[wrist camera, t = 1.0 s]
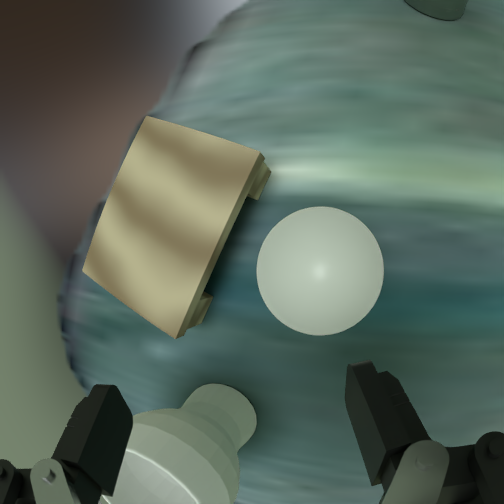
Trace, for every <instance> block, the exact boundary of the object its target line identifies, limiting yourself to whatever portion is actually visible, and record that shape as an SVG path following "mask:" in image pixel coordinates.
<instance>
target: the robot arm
mask: <svg viewBox="0 0 504 504" xmlns="http://www.w3.org/2000/svg"><path fill="white" fill-rule="evenodd" d="M405 1H406V2H407V3H408V4H409V5H411V6H412V7H414V8H415V9H417V10H418V11H420V12H422V13H424V14H427V15H429V16H432V17H435V18H438V19H443V20H456V19H458V18H460V17H461V16H462V15H463V12H464V9H465V7H466V4H467V1H468V0H405ZM345 403H346V408H347V412H348V415H349V418H350V421H351V424H352V427H353V429H354V432H355V435H356V438H357V441H358V445H359V448H360V451H361V454H362V457H363V460H364V463H365V466H366V469H367V472H368V475H369V479H370V482H371V485H372V486H374V485H377V484H381V483H382V486H383V489H384V494H383V496H382V498H381V500H380V502H379V504H504V433H501V432H496V431H495V432H489V433H486V434H484V435H483V436H482V437H480V439H479V440H478V441H477V443H476V444H473V445H467V446H460V447H444V446H443V445H442V444H440V443H438V442H436V441H433V440H432V439H431V438H430V437H429V436H428V434H427V432H426V430H425V428H424V426H423V424H422V423H421V421H420V419H419V417H418V415H417V413H416V411H415V409H414V408H413V406H412V404H411V402H409V398H408V397H407V395H406V393H404V389H403V388H402V386H401V384H400V382H399V380H398V379H397V378H395V377H394V376H393V375H391V374H390V373H389V372H387V371H385V372H381V373H377V371H376V369H375V367H374V365H373V363H372V361H371V360H366V361H362V362H358V363H353V364H348V366H347V376H346V388H345ZM132 428H133V416H132V413H131V411H130V409H129V407H128V406H127V404H126V402H125V400H124V399H123V397H122V395H121V393H120V391H119V389H118V388H117V387H116V386H115V385H102V384H96V385H94V386H93V388H92V390H91V392H90V394H89V396H88V397H85V398H84V399H83V400H82V401H81V402H80V403H79V404H78V405H77V406H76V408H75V409H74V411H73V413H72V415H71V419H69V422H68V424H67V427H66V428H65V430H64V432H63V434H62V436H61V438H60V440H59V443H58V445H57V447H56V449H55V451H54V454H53V456H52V457H51V459H49V458H48V459H43V460H40V461H39V462H37V463H36V464H35V465H34V467H33V468H32V469H16V468H15V467H14V466H13V465H12V464H11V463H10V462H9V461H7V460H4V459H1V460H0V504H102V503H101V502H100V501H99V500H100V496H101V495H105V496H110V497H113V493H114V490H115V486H116V482H117V479H118V475H119V472H120V468H121V465H122V461H123V458H124V454H125V451H126V448H127V444H128V441H129V438H130V434H131V431H132Z"/></svg>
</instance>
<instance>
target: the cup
mask: <svg viewBox="0 0 504 504" xmlns="http://www.w3.org/2000/svg"><path fill="white" fill-rule="evenodd" d="M256 425H257V420H256V413H255V411H254V408H253V406H252V405H251V403H250V402H249V400H248V399H247V398H246V397H245V396H244V395H243V394H241V393H240V392H239V391H237V390H235V389H233V388H232V387H229V386H226V385H223V384H213V383H212V384H207V385H203V386H201V387H199V388H197V389H196V390H195V391H194V392H193V393H192V394H191V395H190V396H189V397H188V399H187V400H186V401H185V403H184V404H183V406H182V407H181V408H179V409H172V408H169V409H158V410H153V411H148V412H143V413H139V414H137V415H134V416H133V428H132V431H131V434H130V438H129V441H128V444H127V448H126V451H125V454H124V458H123V461H122V465H121V468H120V472H119V475H118V479H117V482H116V486H115V490H114V493H113V497H110V496H105V495H102V496H103V497H104V498H105V500H106V501H107V502H108V503H109V504H233V503H234V501H235V499H236V496H237V493H238V489H239V478H240V467H239V459H238V456H237V452H238V450H239V449H240V448H241V447H242V446H243V445H244V444H245V443H246V442H247V441H248V440H249V439H250V438H251V436H252V435H253V433H254V432H255V429H256Z"/></svg>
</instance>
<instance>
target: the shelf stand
mask: <svg viewBox="0 0 504 504" xmlns="http://www.w3.org/2000/svg"><path fill="white" fill-rule="evenodd" d="M264 159H265V158H264V156H263V155H262V154H261V152H259V151H257V150H254V149H251V148H248V147H245V146H243V145H240V144H237V143H234V142H231V141H228V140H225V139H222V138H219V137H216V136H213V135H210V134H207V133H204V132H200V131H197V130H194V129H191V128H187V127H184V126H181V125H177V124H174V123H170V122H167V121H163V120H160V119H156V118H152V117H149V116H146V118H145V120H144V121H143V123H142V125H141V127H140V129H139V131H138V133H137V135H136V137H135V139H134V141H133V143H132V145H131V147H130V149H129V151H128V154H127V156H126V158H125V160H124V162H123V164H122V167H121V169H120V171H119V173H118V176H117V178H116V180H115V182H114V185H113V187H112V190H111V192H110V194H109V197H108V199H107V202H106V204H105V207H104V209H103V212H102V215H101V217H100V220H99V223H98V225H97V228H96V231H95V234H94V236H93V239H92V242H91V245H90V248H89V251H88V254H87V257H86V260H85V263H84V267H83V270H82V271H83V272H84V273H85V274H87V275H88V276H89V277H90V278H92V279H93V280H94V281H95V282H97V283H98V284H99V285H101V286H102V287H103V288H104V289H106V290H107V291H108V292H110V293H111V294H112V295H114V296H115V297H116V298H118V299H119V300H120V301H122V302H123V303H124V304H126V305H127V306H128V307H130V308H131V309H132V310H134V311H135V312H137V313H138V314H139V315H141V316H142V317H144V318H145V319H147V320H148V321H149V322H151V323H152V324H154V325H155V326H157V327H158V328H160V329H161V330H163V331H164V332H166V333H167V334H169V335H170V336H172V337H173V338H175V339H177V338H179V337H181V336H184V334H185V332H186V330H187V329H189V328H191V327H194V326H196V325H198V324H201V323H202V321H203V319H204V316H205V314H206V312H207V310H208V307H209V305H210V303H211V301H212V299H213V296H211V295H209V294H208V293H206V292H204V289H205V286H206V284H207V282H208V280H209V277H210V275H211V273H212V271H213V268H214V266H215V264H216V262H217V259H218V257H219V255H220V253H221V251H222V248H223V246H224V244H225V242H226V240H227V238H228V235H229V233H230V231H231V229H232V227H233V224H234V222H235V220H236V218H237V216H238V214H239V212H240V209H241V207H242V205H243V203H244V201H245V199H246V197H247V196H248V197H251V198H253V199H255V200H258V199H259V197H260V195H261V192H262V190H263V188H264V186H265V184H266V182H267V180H268V178H269V175H270V173H271V171H270V170H269V168H268V167H267V166H266V164H265V163H264V162H263V161H264Z"/></svg>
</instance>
